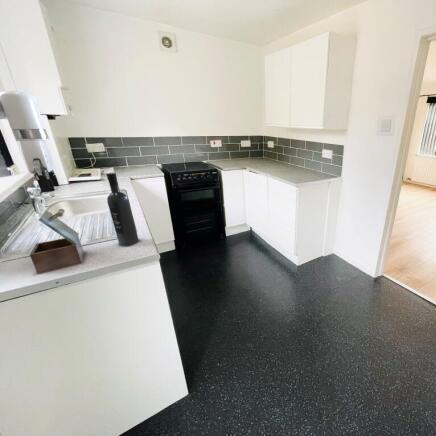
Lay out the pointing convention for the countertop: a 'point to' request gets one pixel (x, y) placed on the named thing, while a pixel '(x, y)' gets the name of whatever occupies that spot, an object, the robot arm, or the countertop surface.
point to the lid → (59, 225)
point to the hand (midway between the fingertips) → (51, 189)
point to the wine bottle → (121, 214)
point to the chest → (56, 255)
